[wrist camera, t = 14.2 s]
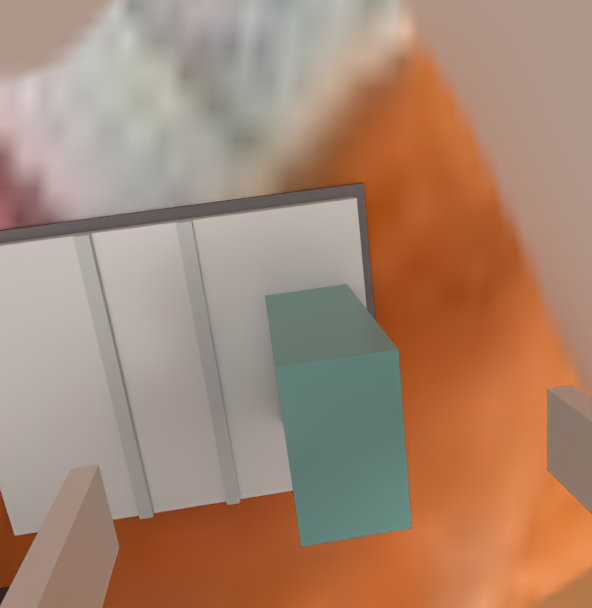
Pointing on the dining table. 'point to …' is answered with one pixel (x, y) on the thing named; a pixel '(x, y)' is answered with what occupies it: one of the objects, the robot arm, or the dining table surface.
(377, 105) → the dining table surface
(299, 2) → the dining table surface
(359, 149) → the dining table surface
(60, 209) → the dining table surface
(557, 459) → the robot arm
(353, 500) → the lid
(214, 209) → the mat
